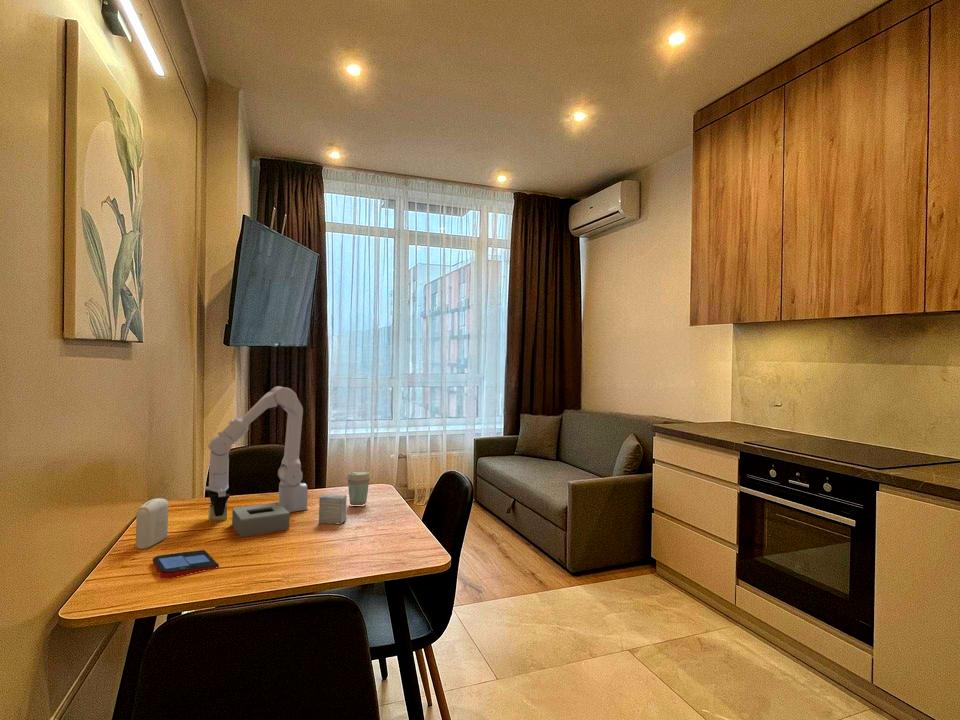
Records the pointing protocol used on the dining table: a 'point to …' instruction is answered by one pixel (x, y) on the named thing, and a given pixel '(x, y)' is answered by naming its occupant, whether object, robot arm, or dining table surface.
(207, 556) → the game console
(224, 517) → the wooden block
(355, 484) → the coffee cup
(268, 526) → the money box
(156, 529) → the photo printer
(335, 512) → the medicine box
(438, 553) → the dining table surface
